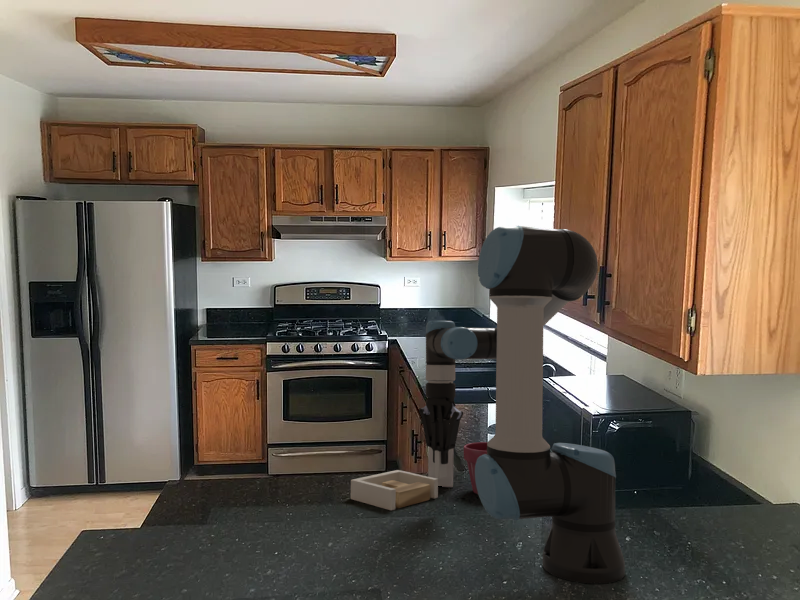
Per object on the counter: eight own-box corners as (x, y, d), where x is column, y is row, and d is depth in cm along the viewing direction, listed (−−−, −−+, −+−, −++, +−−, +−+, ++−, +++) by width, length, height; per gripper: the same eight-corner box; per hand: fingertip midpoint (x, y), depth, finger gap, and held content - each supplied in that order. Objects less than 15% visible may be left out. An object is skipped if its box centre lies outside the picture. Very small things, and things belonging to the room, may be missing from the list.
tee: (429, 499, 173) (430, 484, 173) (398, 508, 164) (399, 492, 164) (402, 492, 180) (402, 477, 180) (371, 500, 171) (371, 484, 171)
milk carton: (453, 482, 193) (453, 417, 194) (452, 487, 186) (453, 421, 187) (429, 481, 194) (430, 417, 194) (427, 486, 186) (428, 420, 187)
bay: (437, 497, 175) (438, 478, 175) (391, 510, 162) (391, 490, 162) (397, 487, 185) (397, 469, 185) (350, 498, 172) (350, 479, 172)
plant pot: (455, 494, 178) (456, 447, 179) (472, 483, 191) (473, 440, 191) (506, 501, 172) (507, 452, 173) (520, 489, 185) (520, 444, 185)
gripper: (470, 382, 162) (470, 478, 161) (430, 380, 171) (430, 471, 170) (451, 383, 157) (451, 482, 155) (411, 381, 166) (411, 475, 164)
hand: (440, 476), depth 162 cm, fingers closed
